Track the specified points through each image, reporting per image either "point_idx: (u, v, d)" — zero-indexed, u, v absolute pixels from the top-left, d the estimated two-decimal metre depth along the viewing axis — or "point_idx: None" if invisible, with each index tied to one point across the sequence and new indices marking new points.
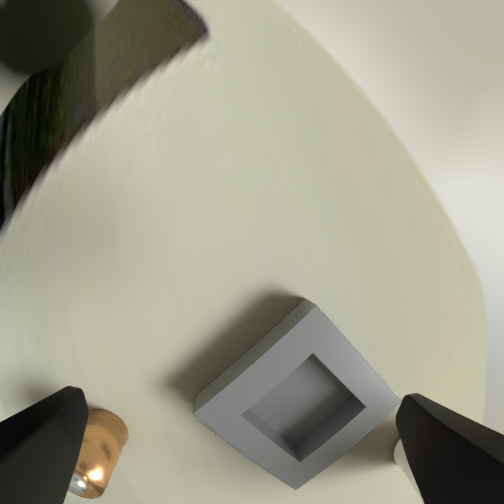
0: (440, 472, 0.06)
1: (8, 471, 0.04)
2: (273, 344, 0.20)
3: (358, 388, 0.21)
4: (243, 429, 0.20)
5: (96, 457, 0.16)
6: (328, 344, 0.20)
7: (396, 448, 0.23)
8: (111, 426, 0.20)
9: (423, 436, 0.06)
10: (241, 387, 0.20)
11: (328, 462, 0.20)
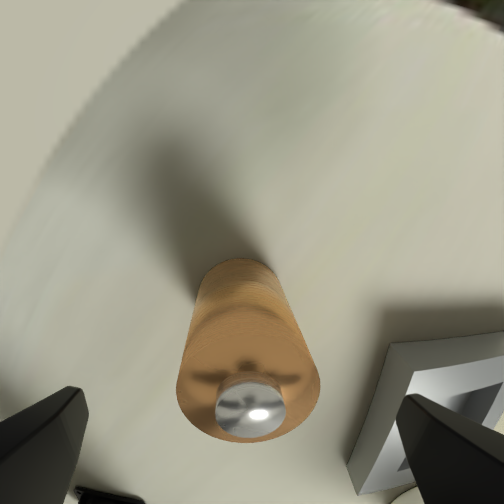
0: (440, 472, 0.06)
1: (8, 471, 0.04)
2: (501, 353, 0.14)
3: None
4: None
5: None
6: None
7: (407, 495, 0.21)
8: None
9: (423, 436, 0.06)
10: (462, 374, 0.14)
11: (403, 483, 0.16)
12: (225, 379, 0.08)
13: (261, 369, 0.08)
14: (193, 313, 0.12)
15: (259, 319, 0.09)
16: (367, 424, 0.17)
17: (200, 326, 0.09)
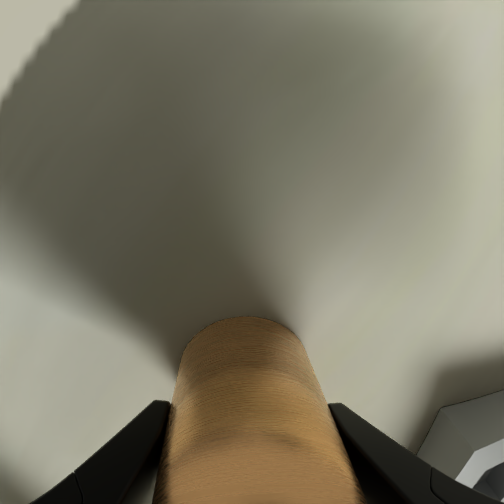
0: None
1: None
2: None
3: None
4: None
5: None
6: None
7: None
8: None
9: None
10: None
11: None
12: None
13: None
14: (166, 429, 0.06)
15: None
16: None
17: (172, 502, 0.04)
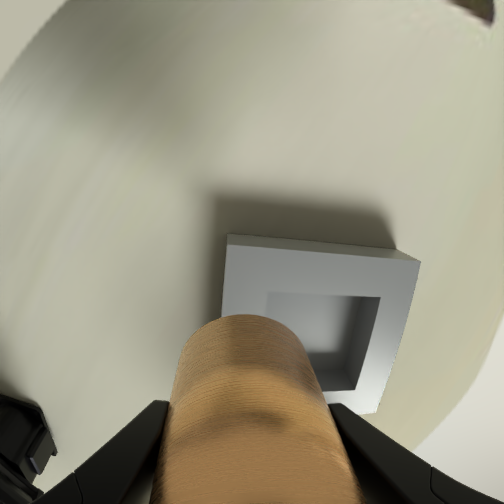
0: None
1: None
2: (363, 255, 0.17)
3: (369, 366, 0.18)
4: (252, 308, 0.17)
5: None
6: (395, 303, 0.17)
7: None
8: None
9: None
10: (301, 265, 0.16)
11: None
12: None
13: None
14: (164, 426, 0.06)
15: None
16: None
17: (170, 499, 0.04)
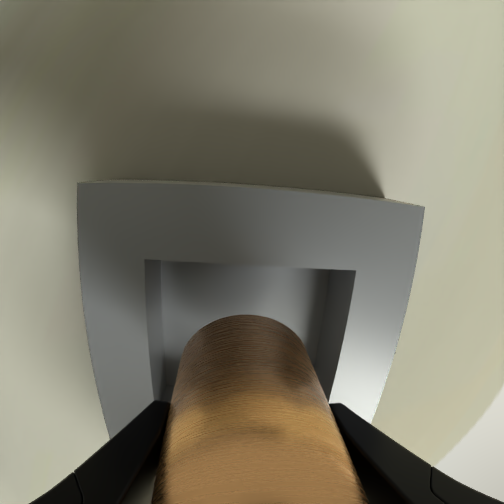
0: None
1: None
2: (317, 193, 0.09)
3: (344, 389, 0.11)
4: (125, 290, 0.09)
5: None
6: (384, 281, 0.10)
7: None
8: None
9: None
10: (197, 210, 0.09)
11: None
12: None
13: None
14: (166, 427, 0.06)
15: None
16: None
17: (173, 501, 0.04)
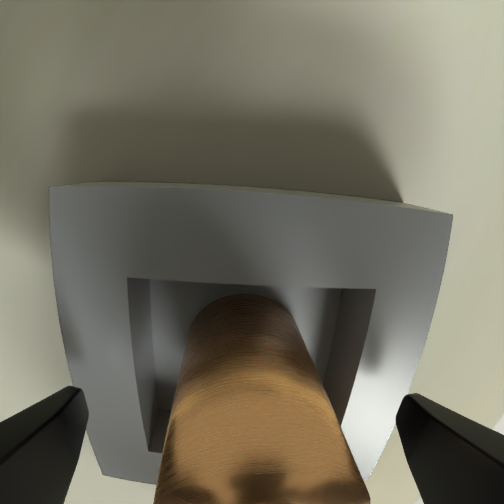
0: (440, 472, 0.06)
1: (8, 472, 0.04)
2: (333, 198, 0.08)
3: (357, 417, 0.09)
4: (106, 312, 0.08)
5: None
6: (407, 300, 0.08)
7: None
8: None
9: (423, 436, 0.06)
10: (188, 219, 0.07)
11: None
12: None
13: None
14: (177, 383, 0.08)
15: (281, 431, 0.05)
16: None
17: (185, 429, 0.05)
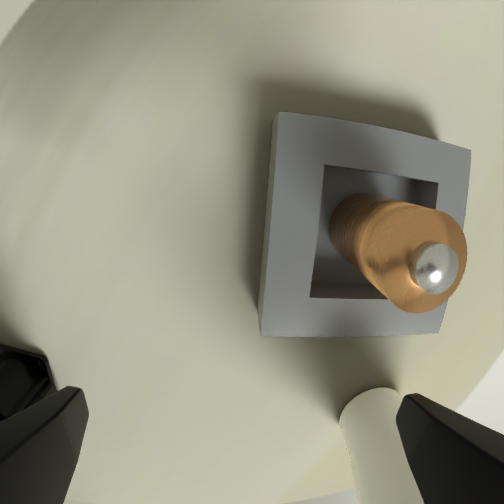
0: (440, 472, 0.06)
1: (8, 472, 0.04)
2: (417, 135, 0.14)
3: None
4: (308, 184, 0.14)
5: None
6: (453, 192, 0.15)
7: (360, 396, 0.21)
8: None
9: (423, 436, 0.06)
10: (357, 137, 0.14)
11: (329, 332, 0.16)
12: (417, 247, 0.11)
13: (438, 239, 0.10)
14: (352, 222, 0.14)
15: None
16: (265, 228, 0.17)
17: (386, 216, 0.12)
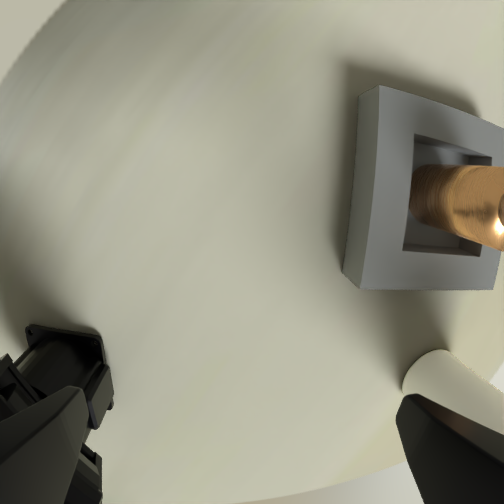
0: (440, 472, 0.06)
1: (8, 471, 0.04)
2: (475, 117, 0.15)
3: None
4: (403, 149, 0.15)
5: None
6: (502, 165, 0.16)
7: (423, 358, 0.21)
8: None
9: (423, 436, 0.06)
10: (436, 113, 0.15)
11: (414, 285, 0.17)
12: (502, 195, 0.11)
13: None
14: (439, 182, 0.15)
15: None
16: (355, 190, 0.18)
17: (474, 172, 0.12)
